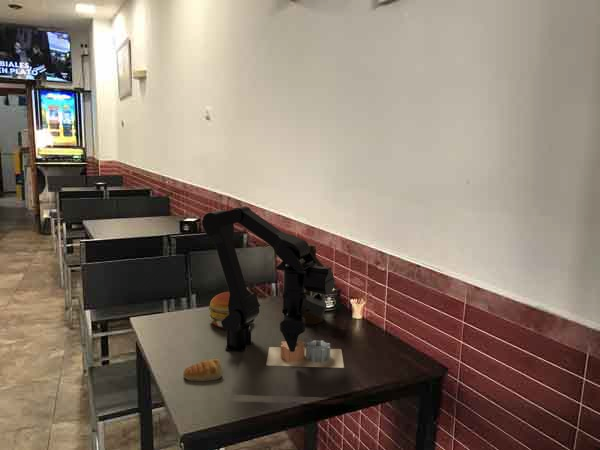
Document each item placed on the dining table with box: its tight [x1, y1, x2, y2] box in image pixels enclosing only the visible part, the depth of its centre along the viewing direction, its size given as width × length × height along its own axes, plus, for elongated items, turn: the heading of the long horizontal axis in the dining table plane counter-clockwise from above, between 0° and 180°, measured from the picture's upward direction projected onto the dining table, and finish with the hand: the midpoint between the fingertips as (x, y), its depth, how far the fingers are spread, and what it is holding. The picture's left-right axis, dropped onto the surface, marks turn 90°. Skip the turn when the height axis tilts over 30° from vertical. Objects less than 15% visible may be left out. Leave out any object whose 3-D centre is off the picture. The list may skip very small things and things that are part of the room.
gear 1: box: [280, 339, 306, 362], centre depth 133 cm, size 6×6×4 cm
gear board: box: [266, 346, 345, 369], centre depth 133 cm, size 20×11×6 cm, turn 89°
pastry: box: [183, 358, 224, 382], centre depth 124 cm, size 9×7×4 cm
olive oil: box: [300, 243, 326, 326], centre depth 161 cm, size 11×11×25 cm
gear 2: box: [305, 340, 331, 363], centre depth 133 cm, size 6×6×4 cm
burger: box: [208, 291, 230, 329], centre depth 157 cm, size 13×14×10 cm
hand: (292, 343), depth 132 cm, fingers open, 9 cm apart
